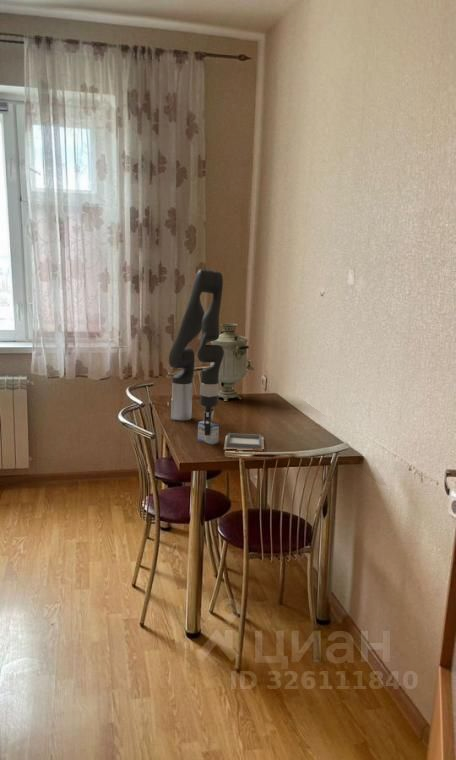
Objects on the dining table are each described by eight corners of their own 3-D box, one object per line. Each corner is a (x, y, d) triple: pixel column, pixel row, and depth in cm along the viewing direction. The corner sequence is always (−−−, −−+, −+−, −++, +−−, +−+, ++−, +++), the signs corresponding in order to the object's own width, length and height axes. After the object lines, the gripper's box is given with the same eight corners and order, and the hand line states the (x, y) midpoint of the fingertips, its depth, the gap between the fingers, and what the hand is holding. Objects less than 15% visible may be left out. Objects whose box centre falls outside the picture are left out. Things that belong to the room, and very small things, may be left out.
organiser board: (223, 451, 242) (223, 444, 242) (225, 438, 259) (226, 431, 258) (263, 453, 242) (264, 446, 241) (263, 439, 258) (263, 433, 258)
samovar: (264, 404, 317) (268, 328, 308) (216, 406, 310) (218, 328, 301) (246, 391, 345) (249, 320, 336) (201, 392, 337) (203, 320, 329)
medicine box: (197, 442, 252) (197, 422, 250) (204, 439, 256) (204, 419, 254) (211, 446, 247) (212, 426, 245) (218, 444, 251) (219, 423, 249)
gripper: (201, 389, 254) (200, 426, 258) (198, 397, 240) (197, 437, 244) (219, 389, 254) (218, 427, 257) (217, 398, 240) (216, 438, 243)
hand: (208, 432), depth 250 cm, fingers open, 7 cm apart
